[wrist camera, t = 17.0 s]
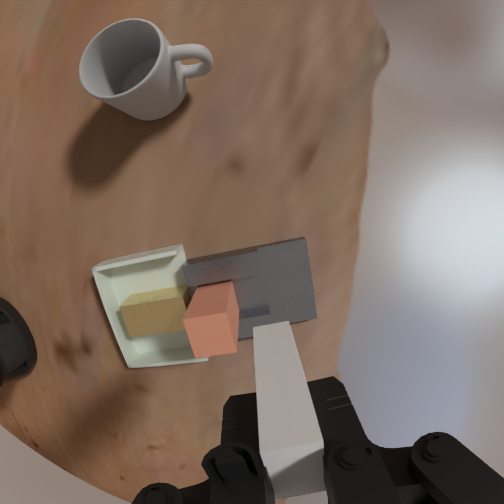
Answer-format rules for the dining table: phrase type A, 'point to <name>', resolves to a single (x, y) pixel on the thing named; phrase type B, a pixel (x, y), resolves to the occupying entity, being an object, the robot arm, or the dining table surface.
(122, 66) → the mug
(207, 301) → the salmon pink flat-faced block
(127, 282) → the tray
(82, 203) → the dining table surface
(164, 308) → the chip
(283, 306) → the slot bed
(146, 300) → the chip
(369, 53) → the dining table surface
